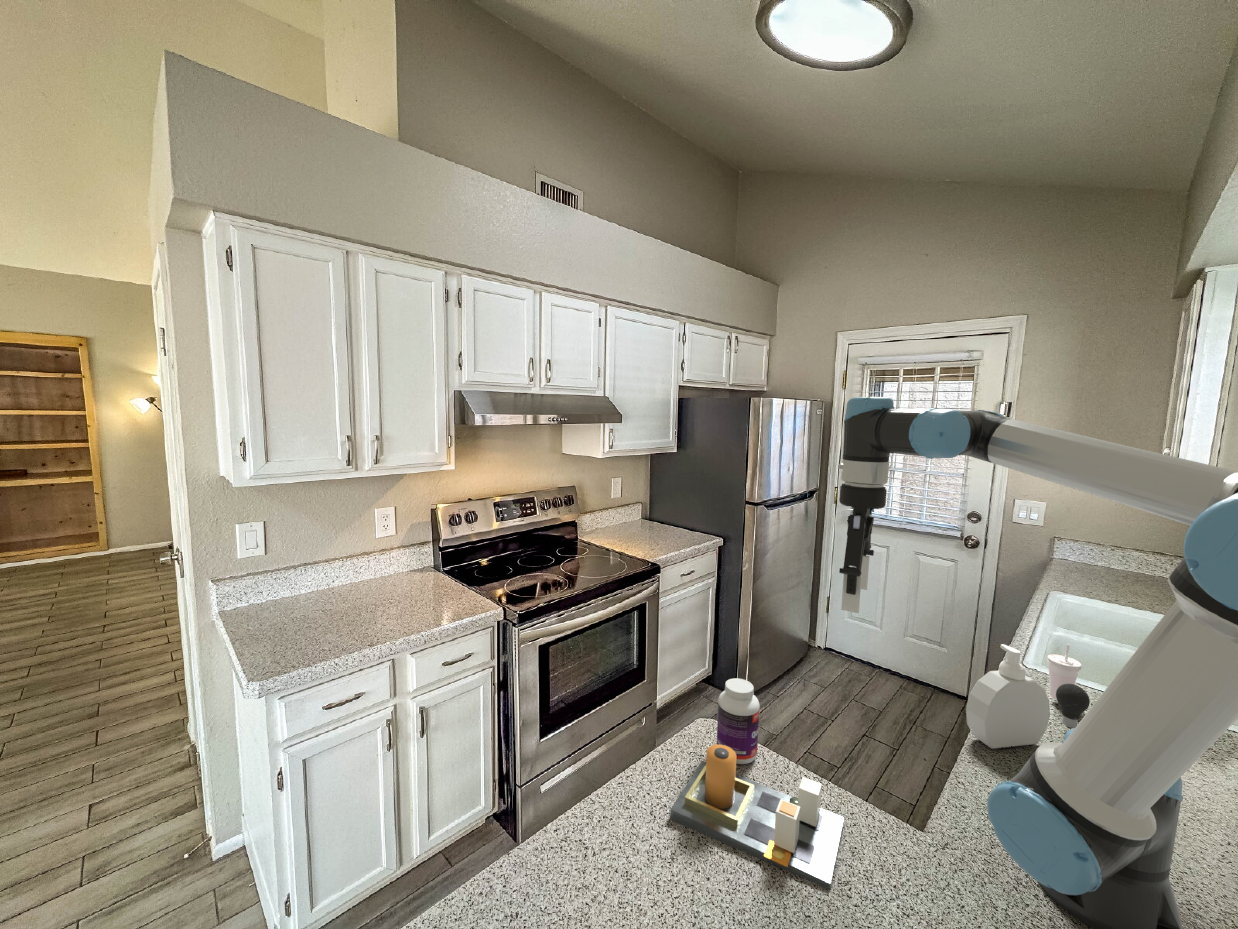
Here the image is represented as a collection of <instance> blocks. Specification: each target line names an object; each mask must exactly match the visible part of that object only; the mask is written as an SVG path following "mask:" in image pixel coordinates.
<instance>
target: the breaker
mask: <svg viewBox="0 0 1238 929" xmlns="http://www.w3.org/2000/svg"><path fill="white" fill-rule="evenodd" d="M822 784H823V783H820V782H818V781H815V780H812V779H809V778H808V777H804V776H802V778H801V781H800V782H799V787H798V794H797V795H798V796H797V798H798V806H800V821H803V822H805V823H807V824H810V825H812V826H815V827H816V826H817V822H818V819H819V815H820V808H821V798H822V786H823V785H822Z"/></svg>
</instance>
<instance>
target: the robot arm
mask: <svg viewBox="0 0 1238 929" xmlns="http://www.w3.org/2000/svg"><path fill="white" fill-rule="evenodd" d="M845 408H846V409H845V414H844V420H843V425H844V427H843V450H842V463H839V464H838V467H837V468H838V469H839V470H842V471H841V476H840V477H841V478H840V479H841V481H842V482H843V483H841V484H840V486H839V489H840V490H839V501H838V502H839V503H840V504H841V505H843V506H845V507H850V508H852V513H849V515H848V516H847V519H846V520H847V531H846V537H847V538H846V543H845V545H846V546H845V551H844V552H845V553H844V558H843V560H844V561H843V567H840V568H839V569H838V570H839V574H843V582H842V596H841V598H842V599H841V607H840V608H841V610H842V611H846V612H851V613H855V614H859V613H860V605H861V604H860V602H861V590H863V591H865V590H866V591H867V590H868V582H869V581H868V580H869V568H870V567H869V566H870V557H871V556H874V555H875V550H874V549H872V544H871V543H872V542H871V541H872V534H873V525H874V522H875V519H874V518H875V516H874V515H872V514H873V513H872V512H873V510H879V509H883V508H885V507H886V505H887V504H886V503H887V491H888V489H887V488H886V486H884V485H887V484H888V483H889V482H888V481H889V472H890V470H889V469H890V455H891V454H897V455H906V456H913V457H914V456H915V457H924V458H927V459H953V458H956V457H958V456H967V457H971V458H974V459H977V460H980V461H983V462H987V463H991V464H994V465H998V466H999V467H1000V466H1001V467H1004V468H1007V469H1011V470H1014V471H1016V472H1019V473H1023V474H1026V475H1029V476H1033V477H1034V478H1038V479H1042V480H1045V481H1048V482H1051V483H1055V484H1058V485H1061V486H1064V487H1067V488H1071V489H1073V490H1076V491H1079V492H1084V493H1086V494H1088V495H1089V494H1090V495H1092V496H1095V497H1099V498H1101V499H1105V500H1108V501H1112V502H1114V503H1117V504H1121V505H1124V506H1127V507H1130V508H1132V509H1136V510H1140V511H1143V512H1146V513H1149V514H1152V515H1155V516H1159V517H1162V518H1165V519H1167V520H1172V521H1174V522H1177V523H1180V524H1184V525H1187V526H1189V528H1188V529H1187V532H1186V534H1185V537H1184V541H1183V558H1181V560H1180V562H1178V564H1177V565H1176V567H1175V568H1174V569H1173V571H1172V572H1171V574H1170V575H1169V576H1168V578H1167V583H1168V585H1169V587H1170V590H1171V591H1172V593H1173V595H1174V597H1175V601H1174V602H1173V604H1172V605H1171V606H1170V607H1169V609H1168V610H1167V612H1166V613H1165V614H1164V615H1163V616H1162V618H1161V619H1160V620H1159V622H1157V623H1156V626H1154V628H1153V629H1152V630H1151V631H1150V632H1149V634H1148V635H1147V636H1146V638H1145V639H1144V640H1143V642H1142V643H1141V644H1140V646H1138V648H1137V649H1136V650H1135V652H1134V653H1133V654H1132V656H1131V657H1130V658H1129V659H1128V661H1127V662H1126V663H1125V664H1124V666H1123V667H1122V668H1121V670H1119V672H1118V673H1117V674H1116V675H1115V677H1114V678H1113V680H1111V682H1110V683H1109V685H1107V686H1106V688H1105V689H1104V691H1103V692H1102V693H1101V695H1099V697H1098V698H1097V699H1096V701H1094V704H1092V706H1091V707H1090V708H1089V709H1088V710H1087V712H1086V713H1085V715H1084V716H1083V717H1082V719H1081V720H1080V721H1079V722H1078V723H1077V726H1076V727H1075V728H1072V729H1068V730H1067V731H1066V732H1065V734H1064V738H1063V739H1062V742H1055V741H1047V742H1044V743H1042V744H1041V745H1039V746H1038V747H1037V748H1036V749H1035V751H1034V752H1033V753H1032V755H1031V756H1030V757H1029V758H1028V760H1027V761H1026V762H1025V764H1023V766H1022V767H1021V769H1020V770H1019V771H1018V772H1017V773H1016V775H1014V776H1013V777H1012V778H1011V779H1009V780H1004V781H1001V782H999V783H997V784H996V786H995V787H994V788H993V789H992V790H991V791H990V793H989V794H988V797H987V800H986V811H987V816H988V819H989V822H990V824H991V825H992V826H993V833H994V834H995V836H996V838H997V840H998V842H999V843H1000V845H1001V846H1002V847H1003V849H1004V850H1005V852H1006V853H1007V854H1008V856H1009V857H1010V858H1011V859H1012V860H1013V861H1014V862H1015V863H1016V864H1017V865H1018V867H1020V869H1022V870H1023V871H1024V872H1025V873H1026V874H1027V875H1029V876H1030V877H1031V878H1032V879H1034V880H1035V881H1036V882H1037V883H1038V885H1039V886H1040V887H1041V889H1042V890H1043V891H1044V892H1045V893H1046V894H1047V896H1048V897H1050V898H1051V900H1052V901H1053V902H1055V903H1056V904H1057V905H1058V906H1059V907H1061V908H1062V909H1063V910H1064V912H1067V914H1069V915H1071V916H1072V917H1074V918H1075V919H1076V920H1078V921H1079V922H1081V923H1082V924H1084V925H1086V926H1088V927H1090V928H1091V929H1183V922H1182V917H1181V914H1180V910H1179V908H1178V904H1177V901H1176V897H1175V894H1174V891H1173V887H1172V884H1171V880H1170V873H1171V865H1172V860H1173V854H1174V848H1175V847H1174V846H1175V841H1176V836H1177V828H1178V823H1179V822H1178V821H1179V816H1180V810H1181V803H1182V802H1183V800H1184V796H1183V794H1182V793H1183V780H1182V776H1184V774H1185V773H1186V772H1187V771H1188V770H1189V769H1190V768H1191V767H1192V766H1193V765H1194V764H1195V762H1197V761H1198V760H1199V758H1201V757H1202V756H1203V755H1204V753H1206V751H1207V750H1209V749H1210V748H1211V747H1212V745H1214V743H1216V741H1217V740H1219V738H1220V737H1221V736H1222V735H1223V734H1224V733H1225V732H1226V731H1227V730H1228V729H1229V728H1230V727H1232V725H1233V724H1234V723H1235V722H1236V721H1237V720H1238V470H1237V471H1236V470H1234V469H1233V470H1232V469H1229V468H1223V467H1219V466H1215V465H1211V464H1207V463H1202V462H1198V461H1195V460H1194V461H1193V460H1190V459H1185V458H1182V457H1177V456H1173V455H1169V454H1163V453H1161V452H1155V451H1152V450H1147V449H1142V448H1138V447H1133V446H1130V445H1127V444H1126V445H1125V444H1121V443H1117V442H1112V441H1109V440H1104V439H1100V438H1095V437H1091V436H1088V435H1087V436H1086V435H1083V434H1079V433H1075V432H1071V431H1065V430H1061V429H1058V428H1057V429H1056V428H1052V427H1048V426H1044V425H1039V424H1035V423H1031V422H1027V421H1024V420H1019V419H1018V420H1017V419H1015V418H1008V417H1006V416H1004V414H1001V413H999V412H994V411H990V410H984V409H977V410H974V409H973V410H957V409H947V408H937V407H934V408H933V407H932V408H902V409H901V408H900V409H899V408H895V407H894V400H893V399H892V398H891V397H883V396H878V397H877V396H870V397H868V396H866V397H865V396H856V397H851V398H850V399H848V401H847V403H846V407H845Z"/></svg>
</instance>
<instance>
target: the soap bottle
mask: <svg viewBox="0 0 1238 929" xmlns="http://www.w3.org/2000/svg"><path fill="white" fill-rule="evenodd" d="M999 648H1001V649H1002V650H1003V651H1005V652H1006V653H1007V656H1006V657H1007V658H1006V659H1005V660H1002V661H1000V663H999V665H998V670H990V671H988V672H987V673H985V674H984V675H983V676H981V678H979V679H978V680H977V681H976V683H975V685H974V686H973V688H972V690H971V691H970V692H969V696H968V698H967V699H968V700H967V703H966V707H965V713H966V714H965V715H966V724H967V726H968V728H969V730H970V732H971V729H972V732H971V734H972V736H974V738H977V739H978V740H979V741H981V742H982V743H983V744H985V746H988V748H990V749H991V750H992V749H1001V748H1002V747H1003V748H1011V746H1012V747H1019V746H1029V745H1037V744H1039V742H1040V740H1041V739H1042V738H1043V736H1044V734H1045V733H1046V732H1047V728H1048V724H1049V721H1050V717H1051V708H1050V699H1049V697H1048V695H1047V693H1046V692H1047V691H1046V690H1045V688H1044V686H1042V685H1041V684H1040V683H1039V682H1037V681H1036V680H1034V679H1033V678H1031V677H1030V676H1027V675H1026V674H1027V672H1026V669H1025V666H1024V665H1022V664H1021V663H1020V659H1021V650H1020V649H1016V648H1014V647H1012V646H1010V645H1007V644H1005V643H1003V644H1002V643H1001V644H1000V647H999ZM972 727H973V728H972Z"/></svg>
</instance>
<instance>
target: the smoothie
mask: <svg viewBox="0 0 1238 929" xmlns="http://www.w3.org/2000/svg"><path fill="white" fill-rule="evenodd" d="M1069 650H1070V644H1069V643H1065V653H1064V655H1061V654H1056V653H1055V654H1048V655H1047V658H1046V661H1047V662H1048V677H1049V678H1048V680H1049V681H1048V682H1049V695H1050V697H1051V698H1052V699H1054V700H1056V701H1057V698H1056V691H1057V689H1058V687H1060V686H1061V685H1063V684H1074V685H1076V681H1077V678H1078V675H1079V672H1080V670H1082V663H1081V662H1080V661H1078V660H1077V659H1075V658H1072V657H1069V653H1070V652H1069Z"/></svg>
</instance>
